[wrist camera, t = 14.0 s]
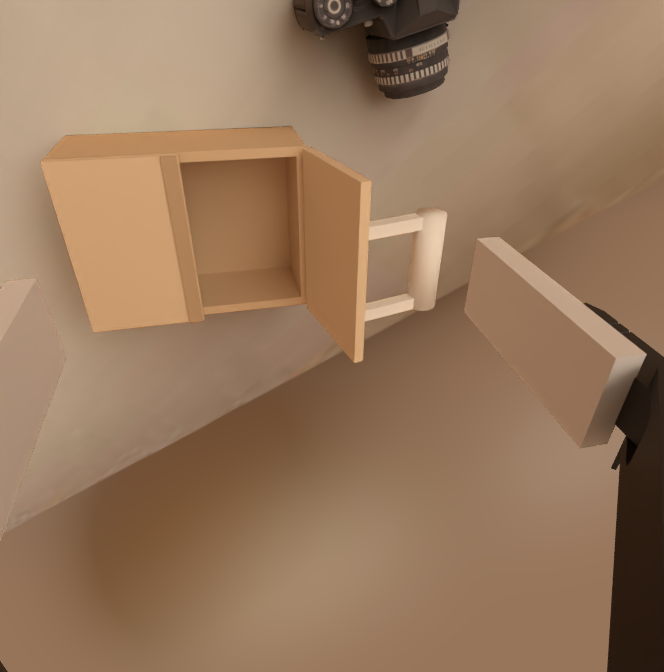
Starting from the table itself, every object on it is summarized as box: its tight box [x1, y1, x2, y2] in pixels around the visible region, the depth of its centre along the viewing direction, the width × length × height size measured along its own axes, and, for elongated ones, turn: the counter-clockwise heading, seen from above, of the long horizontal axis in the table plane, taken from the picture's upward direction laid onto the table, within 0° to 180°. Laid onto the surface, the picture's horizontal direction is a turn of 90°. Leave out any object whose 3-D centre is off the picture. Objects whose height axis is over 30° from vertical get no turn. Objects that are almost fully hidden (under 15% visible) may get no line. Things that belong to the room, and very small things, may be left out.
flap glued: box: [40, 153, 204, 332], centre depth 42 cm, size 15×10×1 cm, turn 0°
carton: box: [44, 126, 307, 315], centre depth 47 cm, size 15×20×8 cm
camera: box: [293, 0, 460, 99], centre depth 41 cm, size 14×11×10 cm
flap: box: [303, 147, 447, 363], centre depth 43 cm, size 15×10×8 cm
